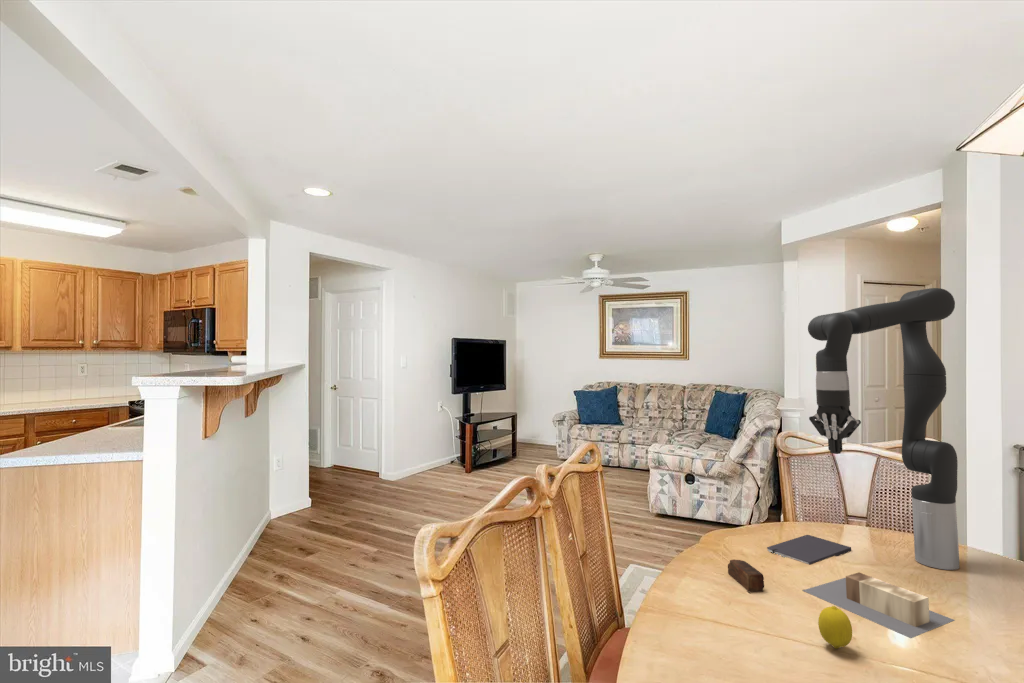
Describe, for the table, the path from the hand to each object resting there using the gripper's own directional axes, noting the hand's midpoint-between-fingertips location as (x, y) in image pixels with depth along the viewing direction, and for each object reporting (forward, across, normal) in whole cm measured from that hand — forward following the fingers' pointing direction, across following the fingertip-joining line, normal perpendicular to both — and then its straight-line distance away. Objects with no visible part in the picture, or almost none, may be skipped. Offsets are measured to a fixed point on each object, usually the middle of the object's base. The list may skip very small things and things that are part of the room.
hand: (835, 453), depth 132 cm
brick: (+31, +6, +28) cm, 43 cm away
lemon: (+31, -22, +36) cm, 52 cm away
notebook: (+32, +13, -6) cm, 35 cm away
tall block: (+28, -11, +12) cm, 32 cm away
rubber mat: (+31, -15, +12) cm, 36 cm away
